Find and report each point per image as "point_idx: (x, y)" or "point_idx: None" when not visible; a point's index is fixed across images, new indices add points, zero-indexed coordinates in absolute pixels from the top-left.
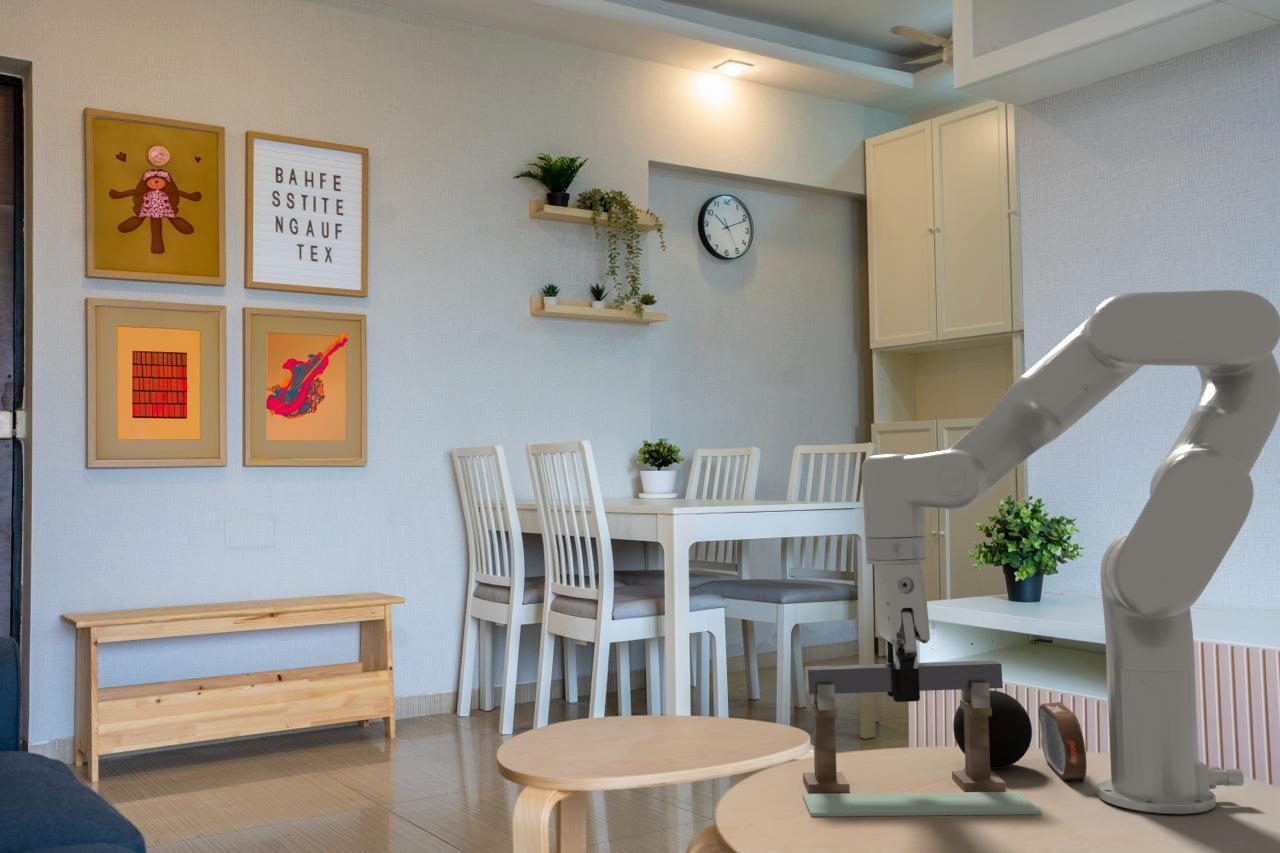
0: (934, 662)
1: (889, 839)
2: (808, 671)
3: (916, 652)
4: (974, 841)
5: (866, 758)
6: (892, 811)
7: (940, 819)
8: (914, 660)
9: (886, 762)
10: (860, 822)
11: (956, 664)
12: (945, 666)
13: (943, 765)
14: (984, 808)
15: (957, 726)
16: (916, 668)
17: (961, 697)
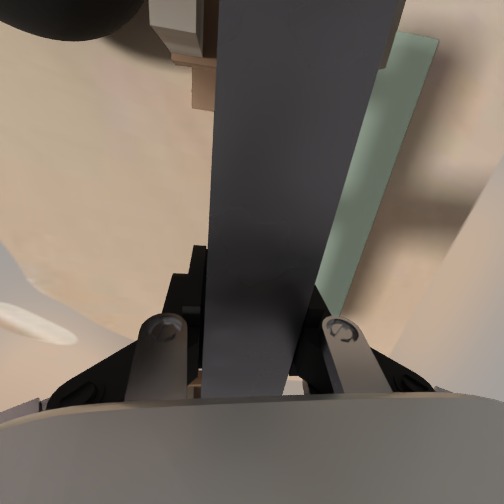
0: (215, 217)
1: (425, 276)
2: None
3: (381, 376)
4: (475, 197)
5: (38, 216)
6: (358, 257)
7: (390, 207)
8: (396, 363)
9: (66, 190)
10: (366, 289)
11: (332, 124)
12: (338, 198)
13: (77, 80)
14: (391, 136)
15: (66, 34)
16: (346, 322)
17: (172, 51)
